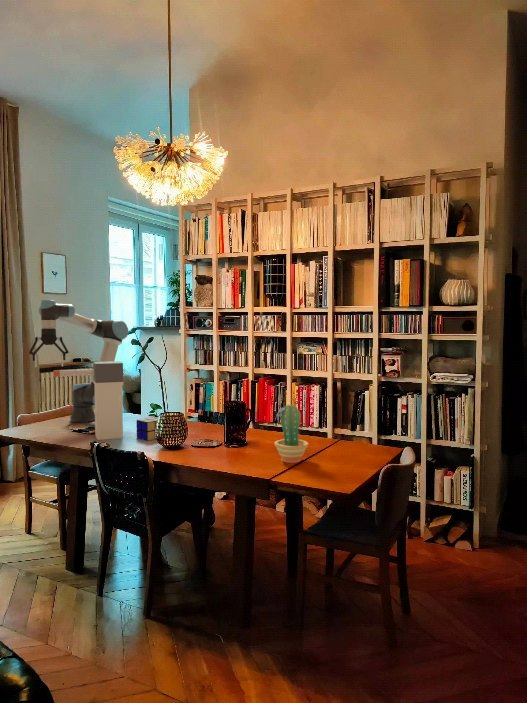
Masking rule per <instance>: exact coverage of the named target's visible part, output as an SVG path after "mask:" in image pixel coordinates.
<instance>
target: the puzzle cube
mask: <svg viewBox="0 0 527 703" xmlns="http://www.w3.org/2000/svg"><path fill="white" fill-rule="evenodd" d="M158 419H159V418H156V417H146V418H139V419H136V439H137V440H138V439H139V440H142V441H145V442H150V441H154V440H156V439H155V428H156V424H157V421H158Z"/></svg>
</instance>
